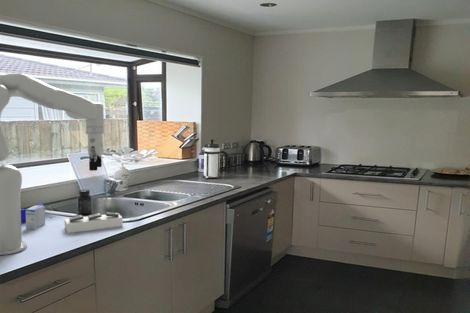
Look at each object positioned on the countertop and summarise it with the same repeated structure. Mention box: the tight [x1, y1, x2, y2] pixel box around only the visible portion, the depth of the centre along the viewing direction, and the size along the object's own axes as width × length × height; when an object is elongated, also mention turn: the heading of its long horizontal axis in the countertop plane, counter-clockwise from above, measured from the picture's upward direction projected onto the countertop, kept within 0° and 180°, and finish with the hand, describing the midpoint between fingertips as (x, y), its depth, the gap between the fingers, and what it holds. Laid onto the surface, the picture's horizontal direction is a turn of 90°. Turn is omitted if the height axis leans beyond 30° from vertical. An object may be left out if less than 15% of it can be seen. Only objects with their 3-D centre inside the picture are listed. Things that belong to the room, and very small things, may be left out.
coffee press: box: [201, 139, 229, 180], centre depth 301 cm, size 17×16×30 cm
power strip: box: [64, 214, 123, 234], centre depth 174 cm, size 23×8×4 cm, turn 120°
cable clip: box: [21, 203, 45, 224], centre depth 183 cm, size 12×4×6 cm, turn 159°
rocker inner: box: [68, 215, 84, 222], centre depth 168 cm, size 5×3×1 cm, turn 120°
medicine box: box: [25, 204, 46, 230], centre depth 172 cm, size 8×4×9 cm, turn 178°
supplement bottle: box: [76, 188, 93, 217], centre depth 193 cm, size 7×7×12 cm
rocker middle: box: [87, 212, 102, 220], centre depth 172 cm, size 5×3×1 cm, turn 120°
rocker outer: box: [104, 211, 120, 217], centre depth 176 cm, size 5×3×1 cm, turn 120°
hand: (95, 168), depth 176 cm, fingers open, 9 cm apart
